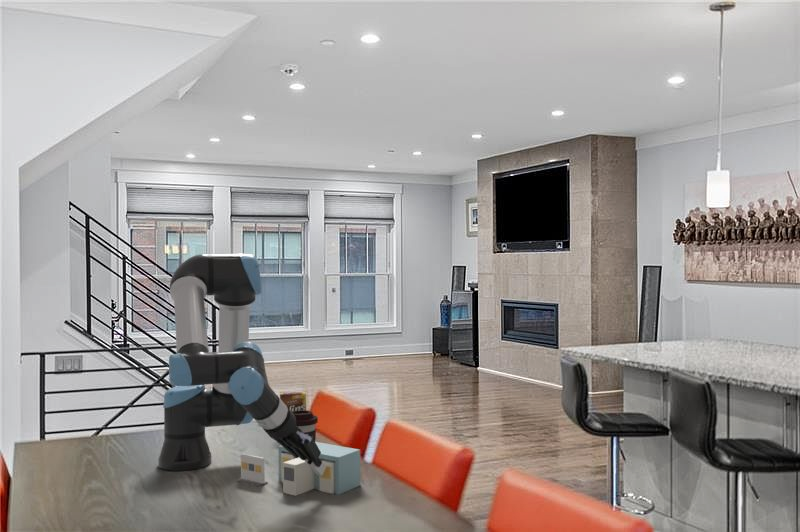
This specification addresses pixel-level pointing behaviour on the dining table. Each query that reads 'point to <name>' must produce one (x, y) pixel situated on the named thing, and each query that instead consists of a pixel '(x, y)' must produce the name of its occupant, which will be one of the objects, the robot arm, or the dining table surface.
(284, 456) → the button
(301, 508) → the dining table surface
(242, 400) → the robot arm
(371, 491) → the dining table surface
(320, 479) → the button
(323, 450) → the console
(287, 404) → the candy box
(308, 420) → the coffee cup
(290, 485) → the middle button
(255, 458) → the card
